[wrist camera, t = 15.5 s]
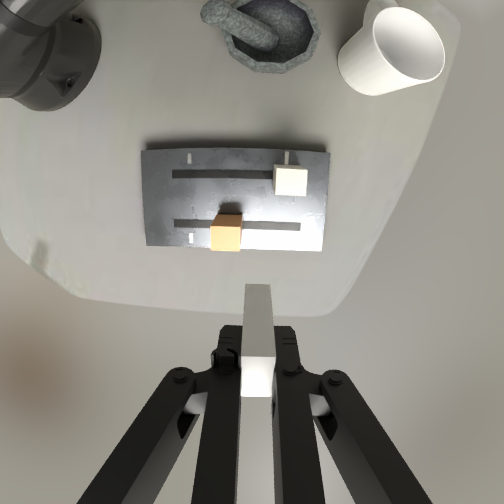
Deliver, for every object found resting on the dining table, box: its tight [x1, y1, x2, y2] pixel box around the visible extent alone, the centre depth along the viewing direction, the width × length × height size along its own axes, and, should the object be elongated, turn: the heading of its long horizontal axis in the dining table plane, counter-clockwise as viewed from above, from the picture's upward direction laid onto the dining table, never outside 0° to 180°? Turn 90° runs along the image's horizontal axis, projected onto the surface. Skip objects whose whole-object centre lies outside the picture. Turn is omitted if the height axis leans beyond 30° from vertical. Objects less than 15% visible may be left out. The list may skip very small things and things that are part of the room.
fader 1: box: [210, 214, 242, 251], centre depth 32 cm, size 3×3×5 cm
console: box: [141, 147, 330, 251], centre depth 35 cm, size 22×12×2 cm, turn 88°
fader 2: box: [273, 164, 308, 196], centre depth 30 cm, size 3×3×5 cm
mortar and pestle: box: [200, 0, 321, 74], centre depth 23 cm, size 11×9×12 cm
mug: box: [338, 0, 445, 96], centre depth 22 cm, size 8×12×12 cm
